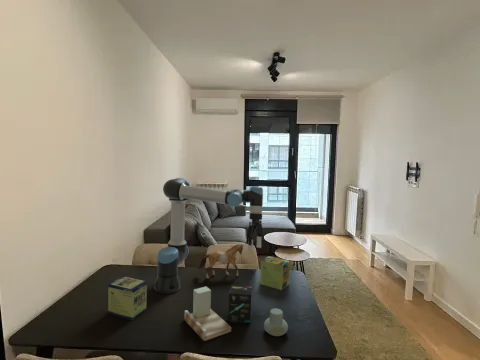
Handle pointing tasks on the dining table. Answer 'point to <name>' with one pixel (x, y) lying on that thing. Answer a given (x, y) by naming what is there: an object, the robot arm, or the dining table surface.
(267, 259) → the protein box
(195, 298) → the sage carton
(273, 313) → the air freshener
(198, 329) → the pale wooden board
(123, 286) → the protein box
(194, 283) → the dining table surface
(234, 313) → the tampon box
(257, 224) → the robot arm
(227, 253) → the horse figurine
